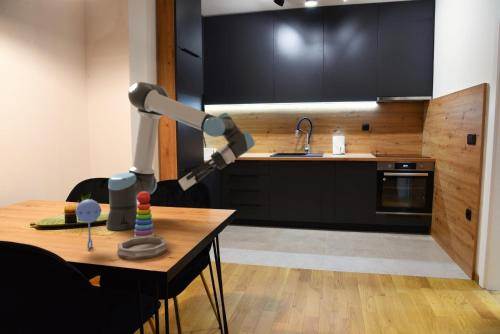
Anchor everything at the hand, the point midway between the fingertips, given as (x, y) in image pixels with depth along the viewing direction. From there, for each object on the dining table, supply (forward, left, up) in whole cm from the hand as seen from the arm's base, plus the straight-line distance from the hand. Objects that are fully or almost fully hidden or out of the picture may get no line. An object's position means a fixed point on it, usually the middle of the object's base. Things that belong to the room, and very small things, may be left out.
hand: (181, 186), depth 155 cm
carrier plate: (+1, -28, -19) cm, 34 cm away
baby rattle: (-20, -31, -20) cm, 42 cm away
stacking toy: (-9, -14, -20) cm, 26 cm away
